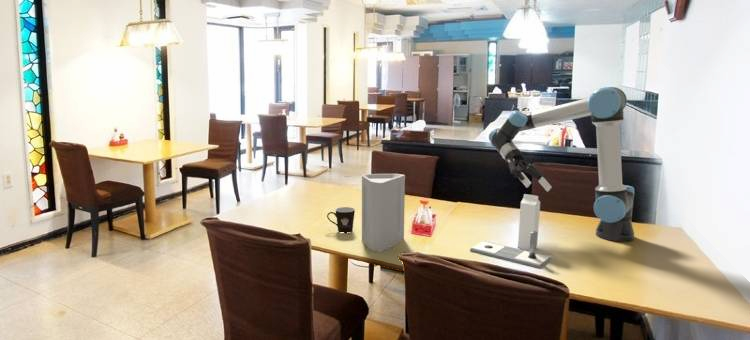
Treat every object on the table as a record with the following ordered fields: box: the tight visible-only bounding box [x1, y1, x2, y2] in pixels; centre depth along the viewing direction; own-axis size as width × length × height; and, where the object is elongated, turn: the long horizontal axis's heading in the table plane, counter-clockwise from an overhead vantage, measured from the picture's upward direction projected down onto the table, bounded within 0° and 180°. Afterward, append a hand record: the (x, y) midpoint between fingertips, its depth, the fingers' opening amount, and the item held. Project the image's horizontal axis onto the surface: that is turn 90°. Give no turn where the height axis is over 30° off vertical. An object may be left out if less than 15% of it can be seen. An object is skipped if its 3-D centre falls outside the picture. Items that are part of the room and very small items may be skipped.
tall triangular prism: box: [361, 173, 406, 253], centre depth 205 cm, size 19×15×28 cm
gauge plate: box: [469, 240, 552, 269], centre depth 194 cm, size 28×12×1 cm, turn 51°
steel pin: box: [528, 231, 538, 258], centre depth 187 cm, size 2×2×10 cm
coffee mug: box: [326, 206, 356, 234], centre depth 222 cm, size 12×9×10 cm
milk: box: [517, 193, 541, 251], centre depth 200 cm, size 6×6×22 cm
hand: (539, 187), depth 206 cm, fingers open, 13 cm apart
